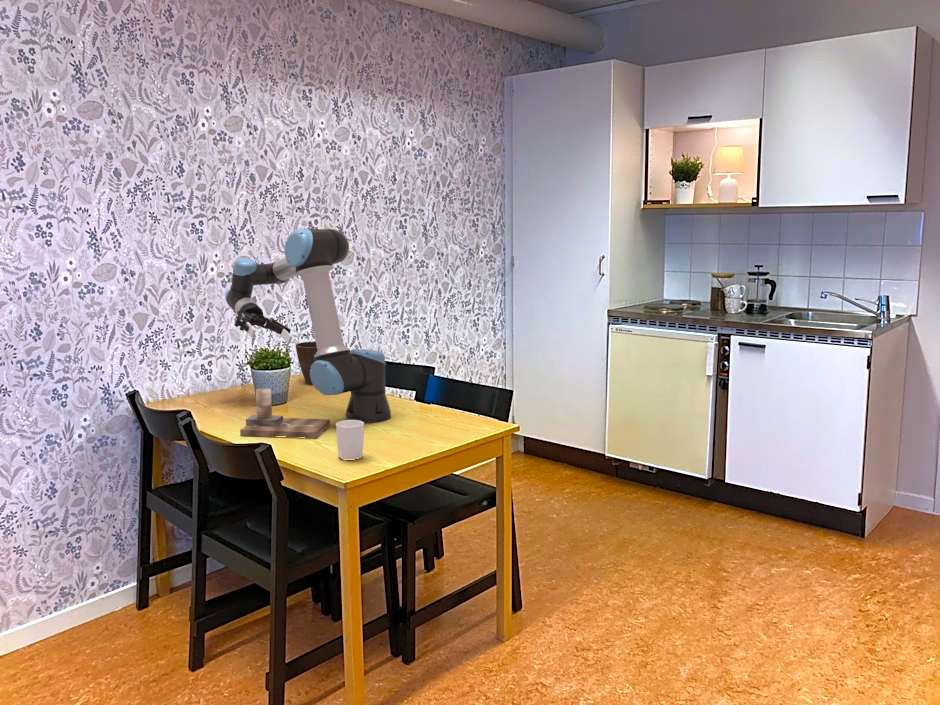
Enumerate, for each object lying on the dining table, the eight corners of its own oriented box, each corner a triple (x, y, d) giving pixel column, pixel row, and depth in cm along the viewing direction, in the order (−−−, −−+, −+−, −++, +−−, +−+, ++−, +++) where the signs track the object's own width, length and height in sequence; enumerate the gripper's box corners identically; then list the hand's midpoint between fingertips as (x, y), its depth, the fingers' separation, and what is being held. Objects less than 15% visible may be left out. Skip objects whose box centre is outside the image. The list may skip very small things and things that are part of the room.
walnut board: (330, 425, 262) (330, 419, 262) (316, 438, 246) (316, 432, 246) (258, 422, 264) (258, 416, 264) (240, 436, 249) (240, 429, 248)
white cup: (368, 454, 231) (368, 421, 229) (357, 462, 223) (357, 428, 222) (343, 452, 233) (343, 418, 231) (331, 460, 226) (331, 425, 224)
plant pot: (289, 385, 321) (288, 345, 319) (308, 378, 335) (307, 340, 333) (322, 388, 317) (321, 348, 314) (340, 380, 331) (339, 342, 328)
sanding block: (283, 421, 258) (282, 388, 256) (276, 426, 252) (275, 392, 250) (253, 420, 259) (251, 387, 257) (246, 425, 253) (244, 391, 251)
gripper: (277, 327, 292) (301, 352, 276) (212, 315, 275) (233, 341, 260) (284, 309, 290) (308, 333, 275) (219, 295, 273) (241, 320, 258)
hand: (272, 337), depth 267 cm, fingers open, 13 cm apart
